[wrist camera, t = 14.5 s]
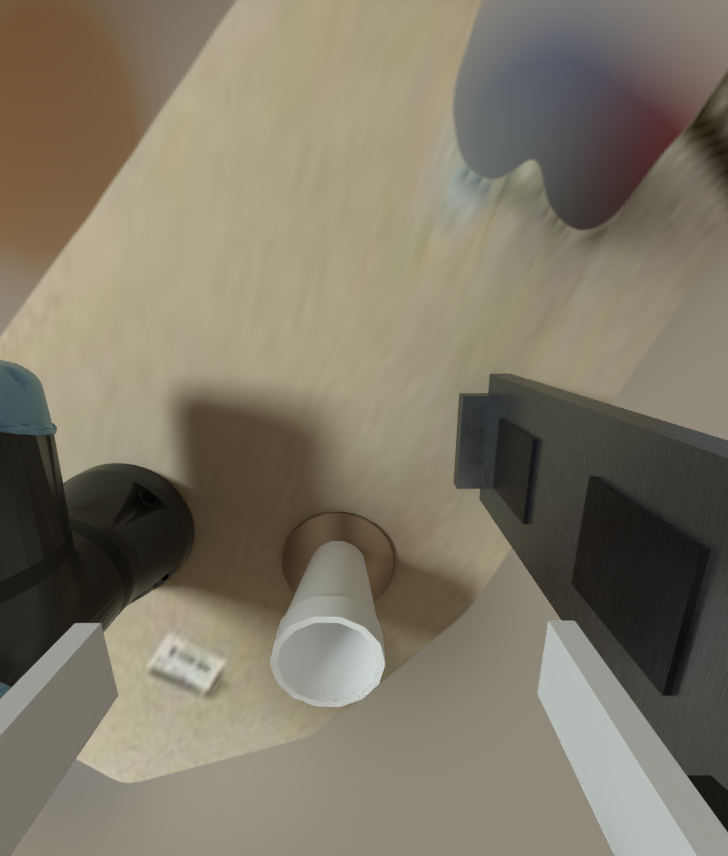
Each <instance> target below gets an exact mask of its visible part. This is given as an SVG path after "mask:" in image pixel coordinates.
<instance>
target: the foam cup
mask: <svg viewBox="0 0 728 856" xmlns="http://www.w3.org/2000/svg"><path fill="white" fill-rule="evenodd" d="M270 665H271V668H272V671H273V674H274V677H275V680H276V683H278V684H279V685H280V686H281V687H282V688H283V689H284V690H285V691H286V692H287V693H288V694H289V695H290V696H291V697H292V698H294V699H297V700H300V701H302V702H305V703H307V704H310V705H313V706H315V707H342V706H344V705H347V704H350V703H353V702H356V701H358V700H361V699H363V698H364V697H365V696H367V695H368V694H369V693H370V692H371V691H372V690H373V689H374V688H375V687H376V686H377V685H378V684H379V682H380V679H381V676H382V673H383V670H384V667H385V650H384V639H383V635H382V631H381V626H380V622H379V621H378V619H377V616H376V612H375V607H374V602H373V597H372V593H371V588H370V583H369V579H368V574H367V569H366V565H365V561H364V557H363V554H362V553H361V552H360V551H359V550H358V548H357V547H356V546H354V545H352V544H349V543H347V542H345V541H331V542H329V543H326V544H324V545H321V546H320V547H319V548H318V550H317V551H316V552H315V553H314V554H313V556H312V558H311V560H310V562H309V565H308V567H307V569H306V571H305V573H304V575H303V578H302V580H301V582H300V584H299V586H298V589H297V591H296V593H295V595H294V597H293V599H292V602H291V604H290V606H289V608H288V610H287V613H286V615H285V616H284V617H283V618H282V619H281V620H280V624H279V627H278V631H277V634H276V638H275V641H274V646H273V650H272V654H271V659H270Z"/></svg>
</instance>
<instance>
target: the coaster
mask: <svg viewBox="0 0 728 856" xmlns="http://www.w3.org/2000/svg"><path fill="white" fill-rule="evenodd" d="M331 541H345V542H347V543H349V544H352V545H354V546H356V547H357V548H358V550H359V551H360V552H361V553H362V554H363V557H364V561H365V565H366V569H367V574H368V579H369V583H370V588H371V593H372V597H373V601H374V600H376V599H377V598H378V597H379V596H380V595H381V594H382V593H383V592H384V591H385V590H386V588H387V587H388V585H389V583H390V581H391V578H392V575H393V571H394V556H393V551H392V547H391V545H390V542H389V540H388V539H387V537H386V536H385V534H384V533H383V532H382V531H381V530H380V529H379V527H377V526H376V525H375V524H374V523H372V522H371V521H369V520H367V519H366V518H363V517H361V516H358V515H355V514H351V513H346V512H329V513H324V514H320V515H317V516H314V517H312V518H310V519H308V520H307V521H305V522H303V523H302V524H301V525H300V526H299V527H297V528H296V530H295V531H294V532H293V533H292V535H291V536H290V538H289V540H288V542H287V544H286V546H285V550H284V553H283V571H284V575H285V578H286V580H287V582H288V584H289V585H290V587H291V589H292V590H293V591H294V592H295V593H296V591H297V589H298V586H299V584H300V582H301V580H302V578H303V575H304V573H305V571H306V569H307V567H308V565H309V562H310V560H311V558H312V556H313V554H314V553H315V552H316V551H317V550H318V548H319V547H320V546H321V545H324V544H326V543H329V542H331Z"/></svg>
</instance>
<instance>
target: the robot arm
mask: <svg viewBox="0 0 728 856" xmlns="http://www.w3.org/2000/svg"><path fill="white" fill-rule="evenodd" d="M56 431H57V427H56V425H54V424H53V423H52V422H51V418H50V414H49V410H48V406H47V402H46V398H45V394H44V390H43V387H42V384H41V382H40V381H39V379H38V378H37V377H36V376H35V375H34V374H33V373H32V372H31V371H29V370H28V369H26V368H24V367H22V366H20V365H18V364H15V363H12V362H8V361H3V360H0V856H11V854H12V853H13V851H14V850H15V848H16V847H17V845H18V844H19V842H20V841H21V840H22V838H23V837H24V835H25V834H26V832H27V830H28V829H29V827H30V826H31V825H32V823H33V822H34V820H35V819H36V817H37V816H38V814H39V813H40V811H41V810H42V808H43V807H44V805H45V804H46V802H47V801H48V799H49V798H50V796H51V795H52V793H53V792H54V790H55V789H56V787H57V786H58V784H59V783H60V781H61V780H62V778H63V777H64V776H65V774H66V773H67V771H68V770H69V768H70V766H71V765H72V764H73V762H74V761H75V759H76V758H77V756H78V755H79V753H80V752H81V750H82V749H83V747H84V746H85V744H86V743H87V741H88V740H89V738H90V737H91V735H92V734H93V732H94V731H95V729H96V728H97V726H98V725H99V723H100V722H101V720H102V719H103V717H104V716H105V715H106V713H107V712H108V710H109V709H110V707H111V706H112V704H113V703H114V701H115V700H116V698H117V697H118V693H117V688H116V684H115V680H114V676H113V672H112V667H111V663H110V659H109V655H108V650H107V646H106V642H105V638H104V634H103V633H104V631H105V630H106V629H107V628H108V627H109V625H110V624H111V623H112V622H113V621H114V619H115V618H116V617H117V616H118V615H119V614H120V613H121V611H122V610H123V609H124V608H125V607H126V606H128V605H129V604H131V603H133V602H134V601H136V600H138V599H139V598H141V597H143V596H144V595H146V594H148V593H149V592H151V591H152V590H154V589H156V588H157V587H159V586H161V585H162V584H164V583H165V582H166V581H168V580H169V579H170V578H171V577H172V576H173V575H174V574H175V573H176V572H177V570H178V569H179V568H180V567H181V565H182V564H183V563H184V561H185V560H186V559H187V557H188V555H189V553H190V551H191V548H192V545H193V539H194V526H193V521H192V517H191V514H190V511H189V509H188V507H187V505H186V503H185V502H184V500H183V499H182V497H181V496H180V494H179V493H178V492H177V491H176V490H175V489H174V488H173V487H172V486H171V485H170V484H169V483H168V482H166V481H165V480H164V479H162V478H161V477H159V476H158V475H156V474H154V473H152V472H150V471H148V470H146V469H143V468H140V467H137V466H133V465H127V464H104V465H99V466H96V467H93V468H90V469H88V470H86V471H84V472H82V473H80V474H78V475H76V476H74V477H72V478H70V479H69V480H67V481H66V482H65V483H63V481H62V475H61V470H60V464H59V459H58V453H57V448H56V442H55V437H54V434H56ZM538 696H539V698H540V700H541V702H542V704H543V707H544V708H545V711H546V712H547V715H548V717H549V719H550V721H551V723H552V725H553V728H554V729H555V732H556V734H557V736H558V738H559V740H560V742H561V744H562V747H563V748H564V751H565V753H566V755H567V757H568V759H569V761H570V763H571V765H572V768H573V770H574V772H575V774H576V776H577V778H578V780H579V782H580V784H581V786H582V789H583V790H584V793H585V795H586V797H587V799H588V801H589V803H590V805H591V807H592V810H593V812H594V814H595V816H596V818H597V820H598V822H599V824H600V826H601V828H602V831H603V833H604V835H605V837H606V839H607V841H608V843H609V845H610V848H611V849H612V852H613V854H614V856H728V790H727V789H726V788H725V787H723V786H722V785H721V784H720V783H719V782H718V781H717V780H716V779H715V778H713V777H712V776H711V775H686V774H685V773H684V771H683V770H682V769H681V767H680V766H679V764H678V763H677V762H676V760H675V759H674V757H673V756H672V755H671V753H670V752H669V751H668V749H667V748H666V746H665V745H664V744H663V742H662V741H661V739H660V738H659V737H658V735H657V734H656V733H655V731H654V730H653V728H652V727H651V726H650V724H649V723H648V721H647V720H646V719H645V717H644V716H643V715H642V713H641V712H640V710H639V709H638V708H637V706H636V705H635V703H634V702H633V701H632V699H631V698H630V697H629V695H628V694H627V692H626V691H625V690H624V688H623V687H622V685H621V684H620V683H619V681H618V680H617V679H616V677H615V676H614V674H613V673H612V672H611V670H610V669H609V667H608V666H607V665H606V663H605V662H604V661H603V659H602V658H601V656H600V655H599V654H598V652H597V651H596V649H595V648H594V647H593V645H592V644H591V643H590V641H589V640H588V638H587V637H586V636H585V634H584V633H583V631H582V630H581V629H580V627H579V626H578V625H577V623H576V622H575V621H548V627H547V634H546V640H545V647H544V654H543V660H542V667H541V673H540V680H539V686H538Z"/></svg>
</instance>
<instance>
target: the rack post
mask: <svg viewBox="0 0 728 856" xmlns="http://www.w3.org/2000/svg"><path fill="white" fill-rule="evenodd" d="M454 484H455V486H456V487H457V489H461V488H480V501H481V502H482V504H483V505H484V506H485V508H486V509H487V511H488V512H489V514H490V515H491V517H492V518H493V520H494V521H495V523H496V524H497V526H498V527H499V529H500V530H501V532H502V533H503V535H504V536H505V537H506V539H507V540H508V542H509V543H510V545H511V546H512V548H513V549H514V551H515V552H516V554H517V555H518V557H519V558H520V560H521V561H522V563H523V564H524V565H525V567H526V569H527V570H528V571H529V573H530V574H531V576H532V577H533V579H534V580H535V582H536V583H537V585H538V586H539V588H540V589H541V591H542V592H543V594H544V595H545V596H546V598H547V600H548V601H549V602H550V604H551V605H552V607H553V608H554V610H555V611H556V613H557V614H558V616H559V617H560V619H561V620H562V621H575V622H576V623H577V625H578V626H579V627H580V629H581V630H582V631H583V633H584V634H585V636H586V637H587V638H588V640H589V641H590V643H591V644H592V645H593V647H594V648H595V649H596V651H597V652H598V654H599V655H600V656H601V658H602V659H603V661H604V662H605V663H606V665H607V666H608V667H609V669H610V670H611V672H612V673H613V674H614V676H615V677H616V679H617V680H618V681H619V683H620V684H621V685H622V687H623V688H624V690H625V691H626V692H627V694H628V695H629V697H630V698H631V699H632V701H633V702H634V703H635V705H636V706H637V708H638V709H639V710H640V712H641V713H642V715H643V716H644V717H645V719H646V720H647V721H648V723H649V724H650V726H651V727H652V728H653V730H654V731H655V733H656V734H657V735H658V737H659V738H660V739H661V741H662V742H663V744H664V745H665V746H666V748H667V749H668V751H669V752H670V753H671V755H672V756H673V757H674V759H675V760H676V762H677V763H678V764H679V766H680V767H681V769H682V770H683V771H684V773H685V774H686V775H711V776H712V777H713V778H715V779H716V780H717V781H718V782H719V783H720V784H721V785H722V786H723V787H725V788H726V789H727V790H728V441H727V440H724V439H721V438H718V437H714V436H711V435H708V434H705V433H701V432H698V431H695V430H692V429H688V428H685V427H682V426H678V425H675V424H672V423H669V422H665V421H662V420H659V419H656V418H652V417H649V416H646V415H642V414H639V413H636V412H633V411H630V410H626V409H623V408H620V407H616V406H613V405H610V404H607V403H603V402H600V401H597V400H594V399H590V398H587V397H584V396H581V395H577V394H574V393H571V392H568V391H564V390H561V389H558V388H554V387H551V386H548V385H545V384H541V383H538V382H535V381H532V380H528V379H525V378H522V377H519V376H515V375H512V374H490V381H489V393H459V409H458V425H457V441H456V457H455V472H454Z"/></svg>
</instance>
